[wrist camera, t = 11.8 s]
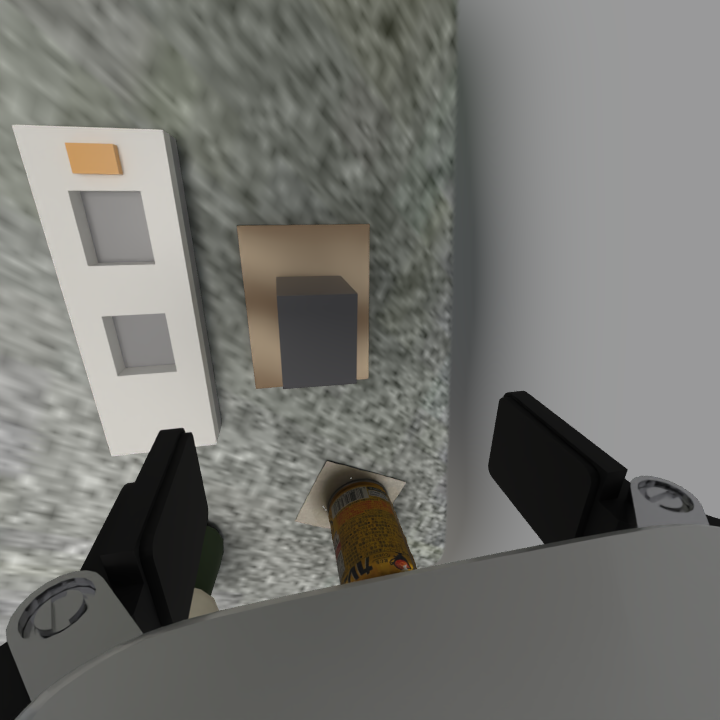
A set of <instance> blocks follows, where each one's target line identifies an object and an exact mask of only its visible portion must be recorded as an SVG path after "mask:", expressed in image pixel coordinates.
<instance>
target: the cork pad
mask: <svg viewBox="0 0 720 720" xmlns="http://www.w3.org/2000/svg"><path fill="white" fill-rule="evenodd" d="M369 228H370V224H330V225H240V226H237V232H238V240H239V249H240V257H241V266H242V274H243V283H244V291H245V300H246V308H247V317H248V325H249V334H250V342H251V351H252V359H253V368H254V376H255V385H256V389H260V388H271V387H282V386H283V382H282V368H281V353H280V338H279V324H278V309H277V292H276V277H294V276H341V277H342V278H343V279H344V280H345V281H346V282H347V283H348V284H349V285H350V286H351V287H352V288H353V289H354V290H355V291H356V292H357V293H358V313H357V380H359V379H368V360H369Z"/></svg>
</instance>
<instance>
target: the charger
mask: <svg viewBox="0 0 720 720" xmlns="http://www.w3.org/2000/svg"><path fill="white" fill-rule="evenodd" d="M276 292H277V309H278V324H279V338H280V353H281V368H282V382H283V389H290V388H303V387H316V386H329V385H342V384H355V383H357V313H358V293H357V292H356V291H355V290H354V289H353V288H352V287H351V286H350V285H349V284H348V283H347V282H346V281H345V280H344V279H343V278H342V277H341V276H294V277H276Z"/></svg>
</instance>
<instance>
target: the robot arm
mask: <svg viewBox="0 0 720 720" xmlns="http://www.w3.org/2000/svg"><path fill="white" fill-rule="evenodd" d="M488 468H489V472H490V475H491V476H492V478H493V479H494V480H495V481H496V483H497V484H498V485H499V487H500V488H501V489H502V491H503V492H504V493H505V494H506V495H507V497H508V498H509V499H510V501H511V502H512V503H513V505H514V506H515V507H516V508H517V510H518V511H519V512H520V513H521V515H522V516H523V517H524V519H525V520H526V521H527V522H528V524H529V525H530V526H531V527H532V529H533V530H534V531H535V533H536V534H537V535H538V536H539V538H540V539H541V540H542V541H543V543H544V544H543V545H538V546H533V547H527V548H522V549H517V550H512V551H507V552H501V553H496V554H491V555H486V556H481V557H476V558H471V559H466V560H461V561H456V562H450V563H445V564H441V565H435V566H430V567H425V568H420V569H415V570H410V571H405V572H400V573H395V574H390V575H385V576H381V577H376V578H371V579H366V580H361V581H356V582H351V583H346V584H341V585H337V586H332V587H327V588H322V589H317V590H312V591H307V592H302V593H298V594H293V595H288V596H283V597H279V598H274V599H270V600H265V601H261V602H256V603H252V604H247V605H243V606H238V607H234V608H229V609H225V610H220V611H216V612H212V613H209V614H205V615H201V616H197V617H193V618H189V613H190V608H191V603H192V598H193V593H194V587H195V582H196V577H197V572H198V567H199V562H200V557H201V552H202V547H203V542H204V537H205V532H206V527H207V521H208V505H207V500H206V496H205V491H204V486H203V481H202V476H201V471H200V466H199V461H198V457H197V452H196V447H195V442H194V437H193V434H192V432H187V433H186V432H185V430H184V428H175V429H166V430H160V431H159V433H158V435H157V437H156V439H155V441H154V443H153V445H152V448H151V450H150V452H149V454H148V456H147V458H146V460H145V462H144V464H143V466H142V468H141V471H140V473H139V475H138V477H137V479H136V481H135V482H133V483H127V484H126V485H124V487H123V488H122V490H121V492H120V494H119V495H118V497H117V499H116V501H115V503H114V505H113V507H112V509H111V511H110V513H109V515H108V517H107V519H106V521H105V523H104V525H103V527H102V529H101V531H100V533H99V535H98V536H97V538H96V540H95V542H94V544H93V546H92V548H91V550H90V552H89V554H88V556H87V558H86V560H85V562H84V564H83V566H82V568H81V570H80V571H75V572H71V573H68V574H65V575H62V576H59V577H57V578H55V579H53V580H51V581H49V582H47V583H45V584H44V585H43V586H41V587H40V588H38V589H37V590H36V591H34V592H33V593H31V594H30V595H29V596H28V597H27V598H26V599H25V600H24V601H23V602H22V603H21V604H20V605H19V607H18V608H17V609H16V611H15V612H14V614H13V615H12V616H11V618H10V621H9V623H8V626H7V629H6V638H7V642H6V643H4V644H3V645H2V646H0V720H720V519H718V518H714V517H711V516H708V515H705V513H704V510H703V507H702V505H701V504H700V502H699V501H698V499H697V498H696V497H695V496H694V495H693V494H691V493H690V492H689V491H687V490H686V489H684V488H683V487H681V486H679V485H677V484H675V483H673V482H670V481H668V480H665V479H661V478H658V477H652V476H639V477H636V478H634V479H633V480H632V481H631V483H630V482H628V481H627V480H626V479H625V476H626V473H627V469H626V468H625V467H624V466H622V465H621V464H620V463H618V462H617V461H616V460H614V459H613V458H612V457H610V456H609V455H608V454H607V453H605V452H604V451H603V450H601V449H600V448H599V447H598V446H596V445H595V444H593V443H592V442H591V441H590V440H588V439H587V438H586V437H585V436H583V435H582V434H581V433H579V432H578V431H577V430H575V429H574V428H573V427H571V426H570V425H569V424H568V423H566V422H565V421H564V420H562V419H561V418H560V417H558V416H557V415H556V414H554V413H553V412H552V411H550V410H549V409H548V408H547V407H545V406H544V405H543V404H541V403H540V402H539V401H538V400H536V399H535V398H534V397H532V396H531V395H530V394H528V393H527V392H525V391H517V392H508V393H506V394H505V395H504V397H503V398H501V399H500V400H499V405H498V411H497V416H496V422H495V429H494V434H493V440H492V446H491V452H490V458H489V464H488ZM188 618H189V619H188Z"/></svg>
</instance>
